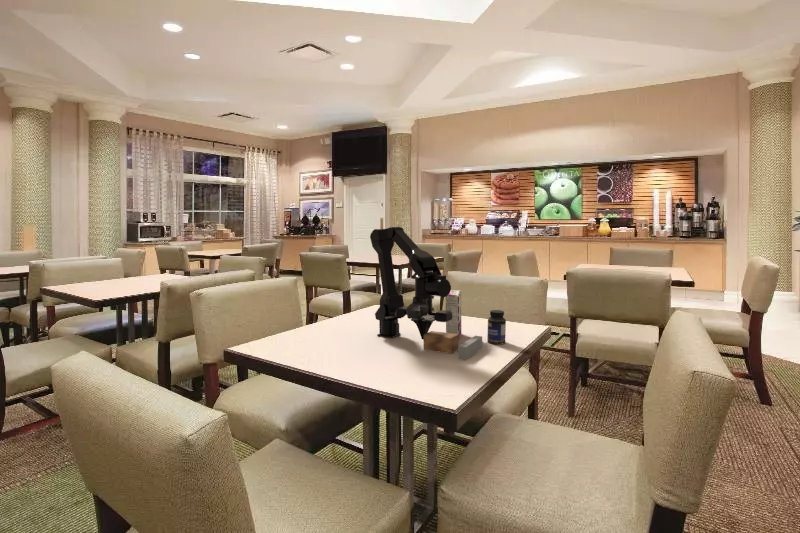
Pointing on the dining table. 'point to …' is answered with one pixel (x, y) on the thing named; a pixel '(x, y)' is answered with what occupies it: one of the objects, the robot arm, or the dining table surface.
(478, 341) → the fence board
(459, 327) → the candy bar box
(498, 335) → the pill bottle
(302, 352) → the dining table surface
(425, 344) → the walnut brick
